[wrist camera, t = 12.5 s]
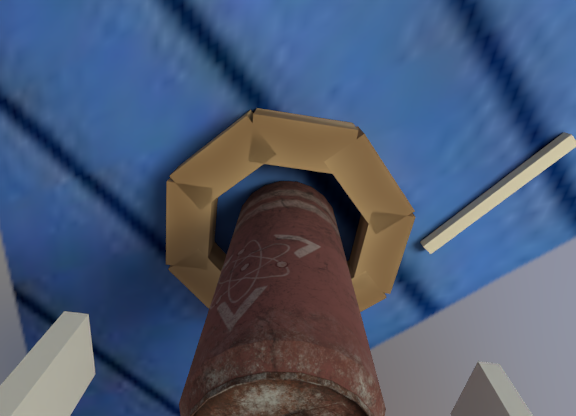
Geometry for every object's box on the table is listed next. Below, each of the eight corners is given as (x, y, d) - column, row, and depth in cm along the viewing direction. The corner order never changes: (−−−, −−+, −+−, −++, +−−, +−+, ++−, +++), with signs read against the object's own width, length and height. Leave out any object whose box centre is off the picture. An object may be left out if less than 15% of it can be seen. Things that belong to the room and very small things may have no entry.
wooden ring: (179, 95, 19) (167, 100, 17) (426, 134, 20) (439, 142, 18) (174, 299, 25) (165, 319, 23) (367, 323, 26) (373, 344, 24)
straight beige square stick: (427, 249, 23) (430, 254, 22) (420, 241, 23) (423, 246, 22) (570, 142, 20) (578, 144, 19) (563, 132, 20) (571, 134, 19)
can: (226, 250, 23) (146, 495, 10) (256, 163, 21) (201, 344, 8) (311, 277, 24) (334, 535, 11) (350, 197, 22) (436, 410, 9)
